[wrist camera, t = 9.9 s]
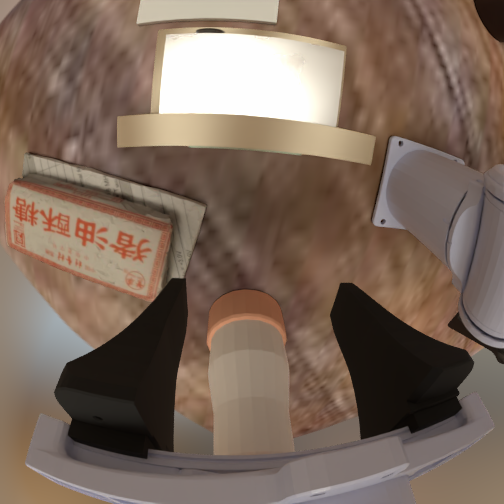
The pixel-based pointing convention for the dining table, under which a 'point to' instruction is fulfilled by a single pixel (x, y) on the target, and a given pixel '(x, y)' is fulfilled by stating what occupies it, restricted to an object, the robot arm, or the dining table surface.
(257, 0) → the mat
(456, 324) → the phone stand
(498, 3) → the bottle
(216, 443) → the pepper shaker
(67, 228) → the packaged product
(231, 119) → the beige box
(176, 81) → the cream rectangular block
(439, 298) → the dining table surface
